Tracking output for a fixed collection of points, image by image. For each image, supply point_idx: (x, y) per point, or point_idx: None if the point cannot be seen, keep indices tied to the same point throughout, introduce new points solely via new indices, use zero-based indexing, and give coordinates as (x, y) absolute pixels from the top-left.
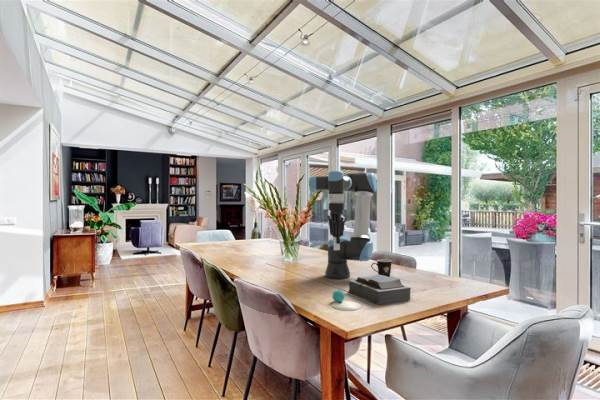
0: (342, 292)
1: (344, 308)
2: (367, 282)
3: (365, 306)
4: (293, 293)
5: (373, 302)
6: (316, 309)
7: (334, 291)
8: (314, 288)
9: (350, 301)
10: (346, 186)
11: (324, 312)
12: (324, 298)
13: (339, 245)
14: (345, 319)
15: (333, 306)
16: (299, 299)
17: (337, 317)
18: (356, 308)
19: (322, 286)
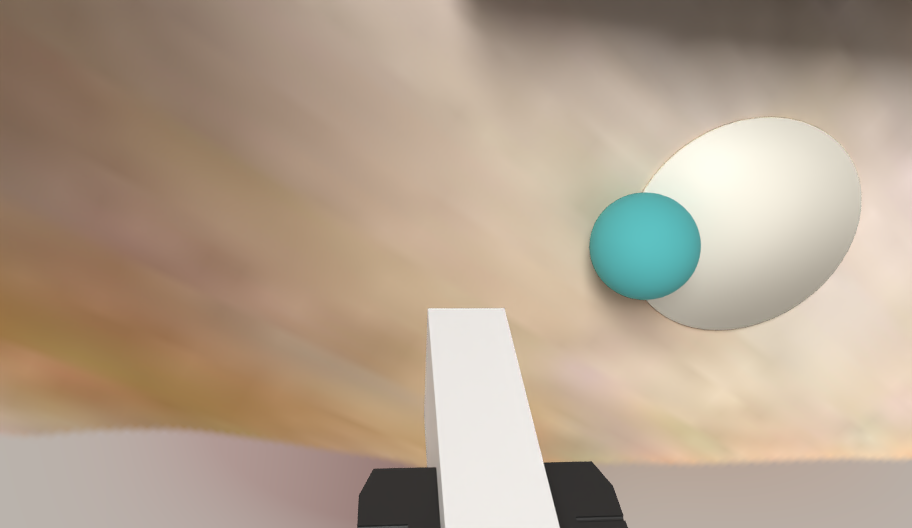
0: (694, 246)
1: (777, 286)
2: None
3: (861, 112)
4: (223, 384)
5: None
6: (648, 425)
7: (626, 289)
8: (132, 156)
9: (696, 141)
10: None
11: (725, 415)
12: (480, 260)
13: (520, 389)
14: (899, 384)
15: (690, 321)
16: (397, 415)
17: (842, 401)
18: (844, 216)
19: (78, 30)
